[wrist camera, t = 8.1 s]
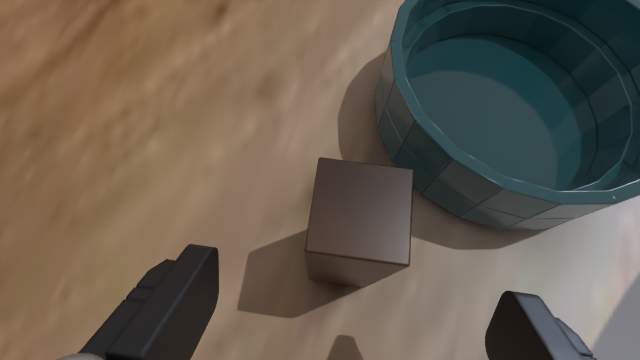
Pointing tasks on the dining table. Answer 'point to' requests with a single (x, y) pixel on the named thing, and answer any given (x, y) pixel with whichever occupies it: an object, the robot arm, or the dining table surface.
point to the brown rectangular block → (359, 222)
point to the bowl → (515, 106)
